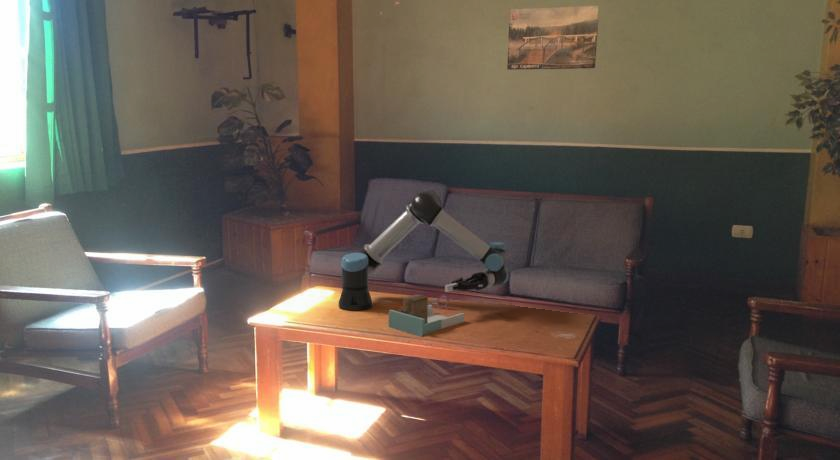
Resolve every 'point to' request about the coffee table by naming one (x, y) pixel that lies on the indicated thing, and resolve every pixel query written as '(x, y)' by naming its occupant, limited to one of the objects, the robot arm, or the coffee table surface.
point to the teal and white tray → (422, 322)
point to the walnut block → (416, 306)
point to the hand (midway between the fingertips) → (446, 288)
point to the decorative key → (438, 302)
